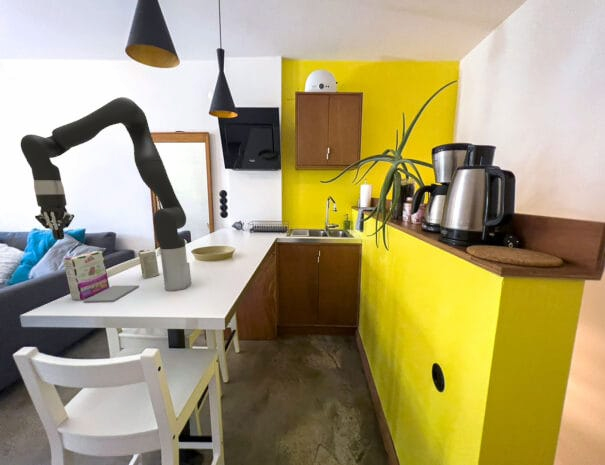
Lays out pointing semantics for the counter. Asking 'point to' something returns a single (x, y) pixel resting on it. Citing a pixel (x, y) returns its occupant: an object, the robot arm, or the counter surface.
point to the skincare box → (148, 264)
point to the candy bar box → (86, 274)
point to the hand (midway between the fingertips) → (59, 239)
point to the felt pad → (111, 294)
